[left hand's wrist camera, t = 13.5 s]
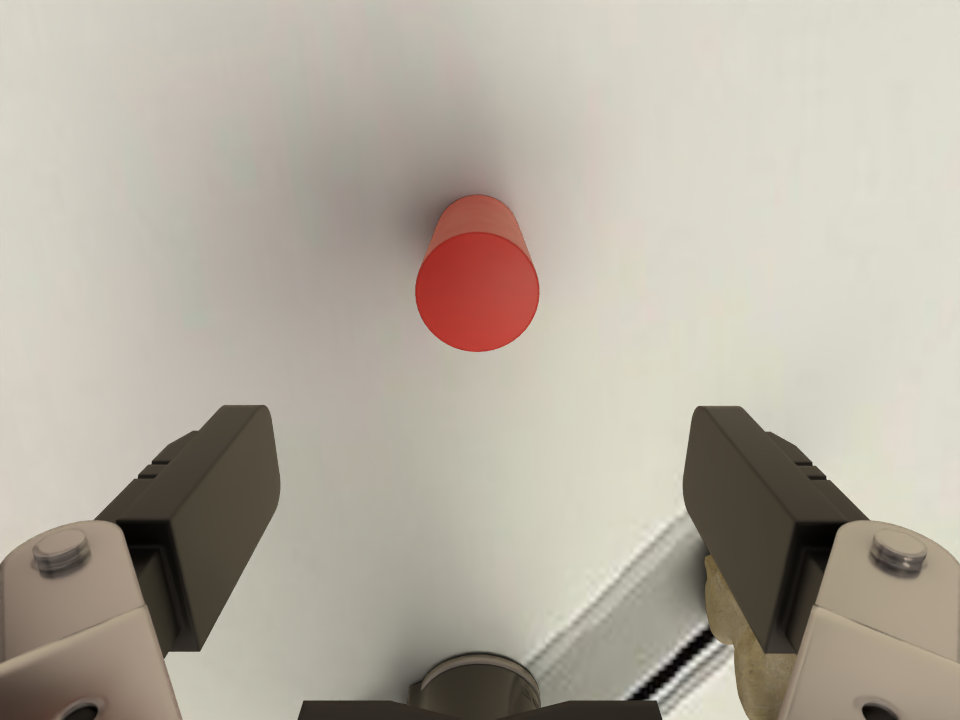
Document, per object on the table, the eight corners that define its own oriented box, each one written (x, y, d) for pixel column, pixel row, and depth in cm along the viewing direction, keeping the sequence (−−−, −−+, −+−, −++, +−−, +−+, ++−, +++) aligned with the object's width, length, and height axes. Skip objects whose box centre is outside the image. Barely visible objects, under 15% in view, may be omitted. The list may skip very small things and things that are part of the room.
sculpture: (691, 621, 42) (795, 866, 29) (685, 542, 40) (797, 770, 26) (773, 610, 42) (919, 852, 28) (773, 529, 39) (934, 753, 25)
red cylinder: (485, 176, 31) (489, 204, 21) (536, 245, 32) (564, 305, 22) (417, 230, 32) (389, 283, 22) (470, 295, 33) (466, 374, 23)
